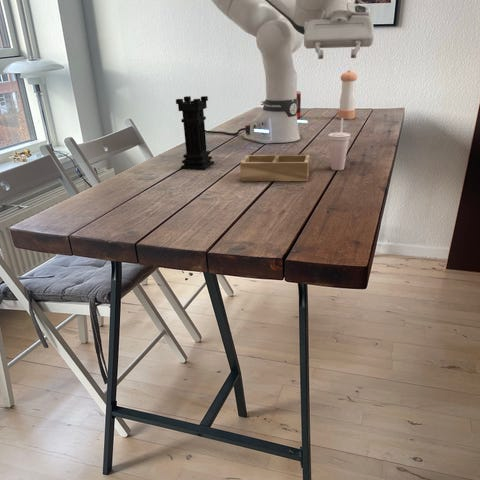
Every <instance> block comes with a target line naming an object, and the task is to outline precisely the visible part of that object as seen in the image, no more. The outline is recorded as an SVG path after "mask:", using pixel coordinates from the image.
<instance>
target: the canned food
mask: <svg viewBox="0 0 480 480" xmlns="http://www.w3.org/2000/svg"><path fill="white" fill-rule="evenodd" d="M301 97H302V93H301V91H300V90H297V99H298V109H297V119H300V118H301V101H302V100H301V99H302V98H301Z"/></svg>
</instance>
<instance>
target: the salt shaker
mask: <svg viewBox="0 0 480 480" xmlns="http://www.w3.org/2000/svg"><path fill="white" fill-rule="evenodd" d="M357 80H358V75H357V73H355V72H352V70H350V69H349V70H347V72H344V73H342V74H341V75H340V81H341V93H340V97H339V109H338V115H337V118H338V120H341V118H343V120H353V119H355V118H356V117H355V116H356V109H355V107H356V106H355V105H356V95H355V89H356V88H355V86H356V81H357Z"/></svg>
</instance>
